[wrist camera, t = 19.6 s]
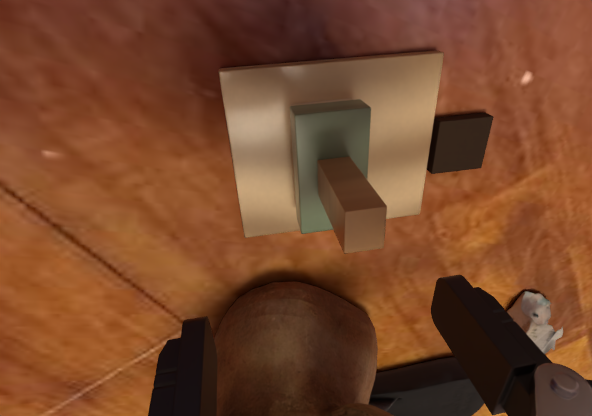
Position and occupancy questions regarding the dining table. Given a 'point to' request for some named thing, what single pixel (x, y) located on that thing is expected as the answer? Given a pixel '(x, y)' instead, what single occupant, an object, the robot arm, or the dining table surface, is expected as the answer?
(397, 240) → the dining table surface
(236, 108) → the board
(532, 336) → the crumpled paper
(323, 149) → the wall hook
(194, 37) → the dining table surface
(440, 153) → the dark brown square tile
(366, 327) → the ceramic vessel
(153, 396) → the robot arm
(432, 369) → the sandal
